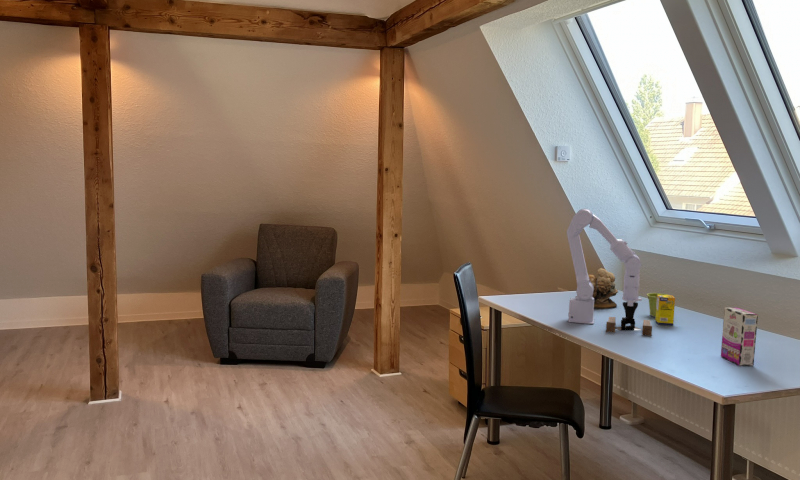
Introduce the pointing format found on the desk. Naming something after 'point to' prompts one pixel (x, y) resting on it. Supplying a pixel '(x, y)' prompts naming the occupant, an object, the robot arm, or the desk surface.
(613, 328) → the wooden rail pair
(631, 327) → the black bracket
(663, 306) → the supplement box
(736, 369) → the desk surface
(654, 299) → the plant pot
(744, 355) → the candy bar box
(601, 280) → the tan lumpy statue
